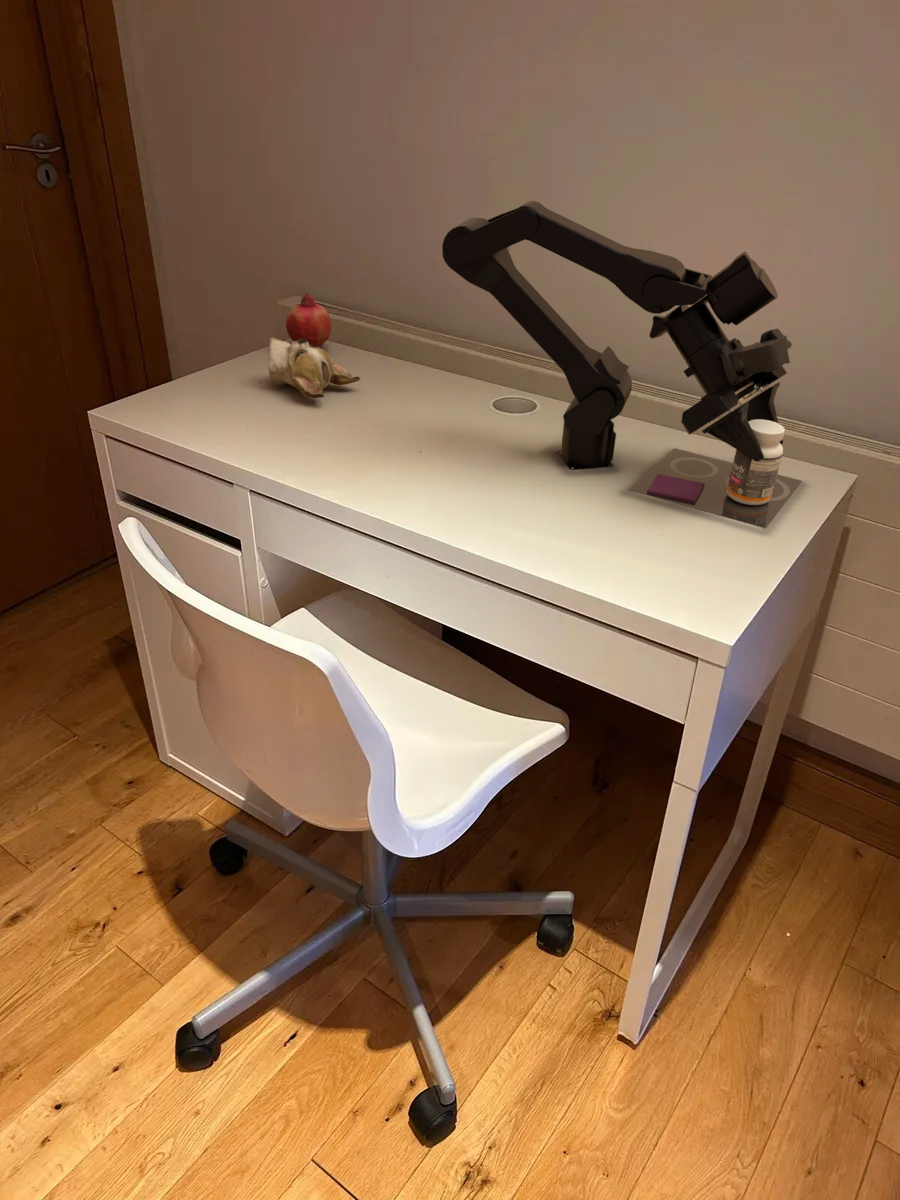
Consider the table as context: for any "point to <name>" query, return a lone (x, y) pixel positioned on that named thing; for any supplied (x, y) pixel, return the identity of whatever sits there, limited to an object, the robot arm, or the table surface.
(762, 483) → the pill bottle
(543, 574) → the table surface
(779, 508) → the hob
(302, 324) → the fruit
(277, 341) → the ceramic sculpture
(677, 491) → the plum cloth
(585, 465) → the robot arm
